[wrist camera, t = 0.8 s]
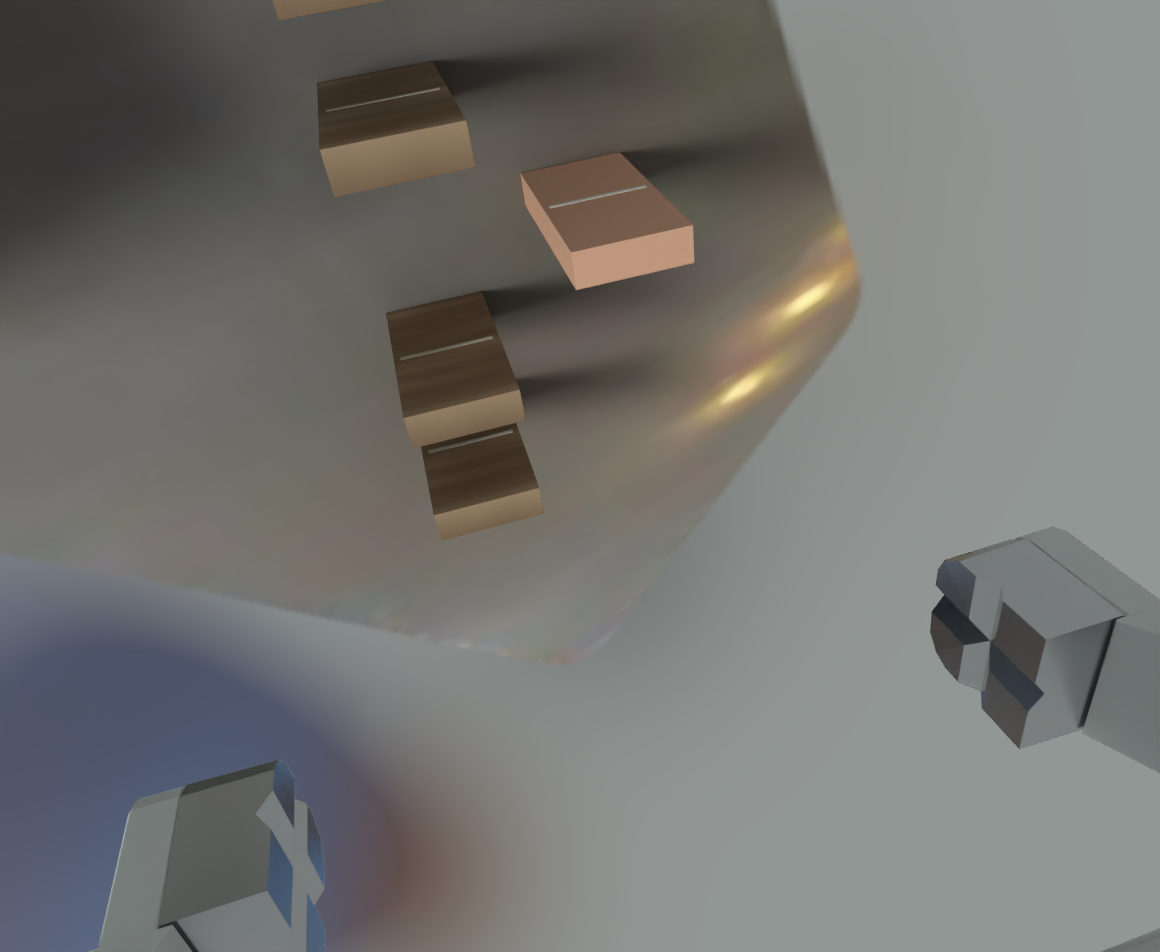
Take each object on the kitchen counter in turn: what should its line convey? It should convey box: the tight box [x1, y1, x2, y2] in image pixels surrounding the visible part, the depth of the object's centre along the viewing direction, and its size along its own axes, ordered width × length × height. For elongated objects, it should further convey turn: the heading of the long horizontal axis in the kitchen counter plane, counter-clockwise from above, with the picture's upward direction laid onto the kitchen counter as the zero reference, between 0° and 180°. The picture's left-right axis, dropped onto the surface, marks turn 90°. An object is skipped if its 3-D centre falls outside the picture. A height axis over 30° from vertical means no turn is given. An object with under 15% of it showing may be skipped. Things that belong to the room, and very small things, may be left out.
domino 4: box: [317, 61, 475, 197], centre depth 32 cm, size 2×5×10 cm, turn 97°
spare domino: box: [520, 152, 694, 290], centre depth 37 cm, size 2×5×10 cm, turn 97°
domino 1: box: [421, 423, 544, 540], centre depth 43 cm, size 2×5×10 cm, turn 97°
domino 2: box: [386, 291, 526, 448], centre depth 39 cm, size 2×5×10 cm, turn 97°
